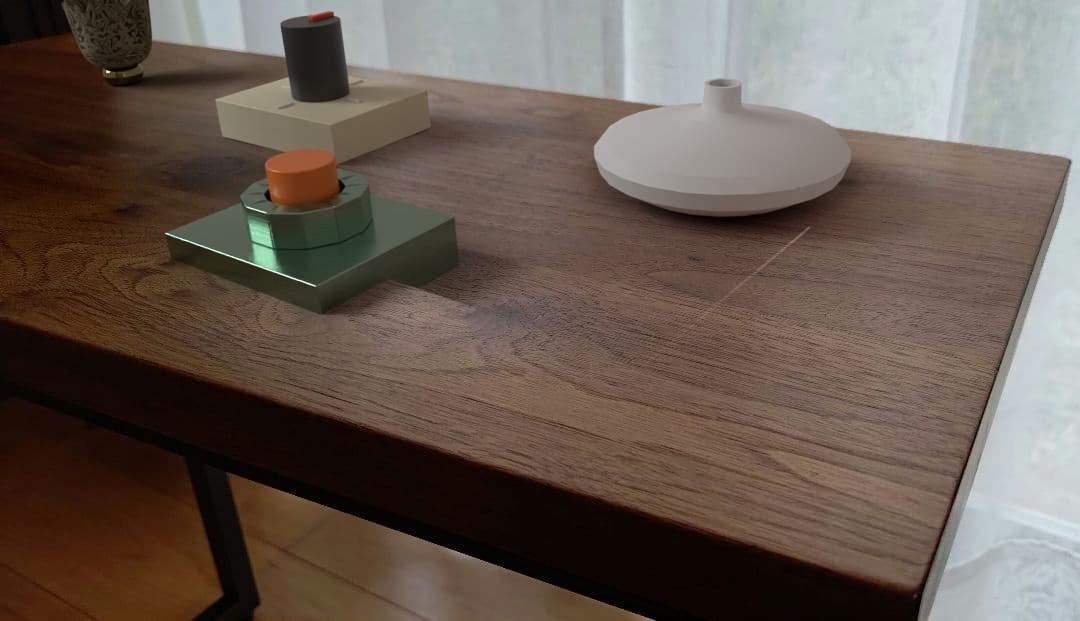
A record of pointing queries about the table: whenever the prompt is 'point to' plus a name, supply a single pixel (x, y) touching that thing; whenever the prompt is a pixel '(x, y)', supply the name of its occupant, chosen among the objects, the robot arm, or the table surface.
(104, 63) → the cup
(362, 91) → the dial panel
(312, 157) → the orange push button
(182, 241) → the button base
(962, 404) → the table surface
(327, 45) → the dial
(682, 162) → the vase
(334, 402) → the table surface
